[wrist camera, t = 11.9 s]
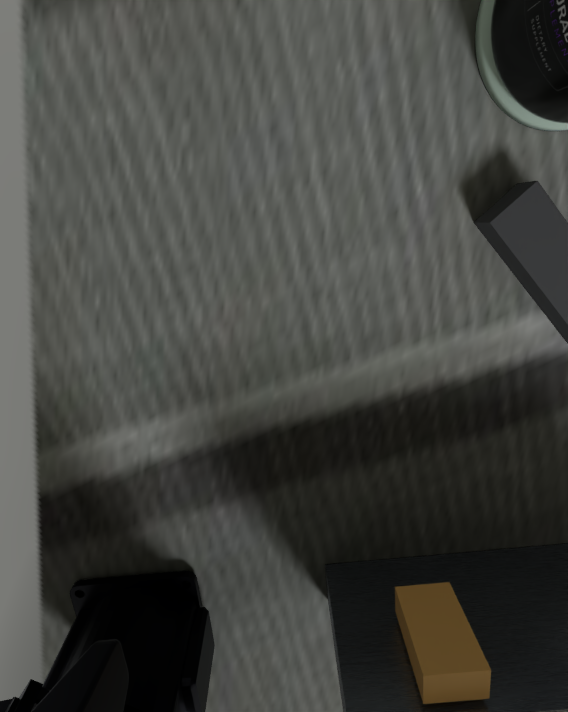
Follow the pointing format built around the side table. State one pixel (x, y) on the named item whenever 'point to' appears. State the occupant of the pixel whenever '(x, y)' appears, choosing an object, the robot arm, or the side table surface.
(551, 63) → the supplement bottle
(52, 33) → the side table surface
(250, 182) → the side table surface
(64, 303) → the side table surface
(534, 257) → the dark grey slat
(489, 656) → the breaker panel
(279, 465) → the side table surface
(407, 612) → the paddle main
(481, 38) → the pad
